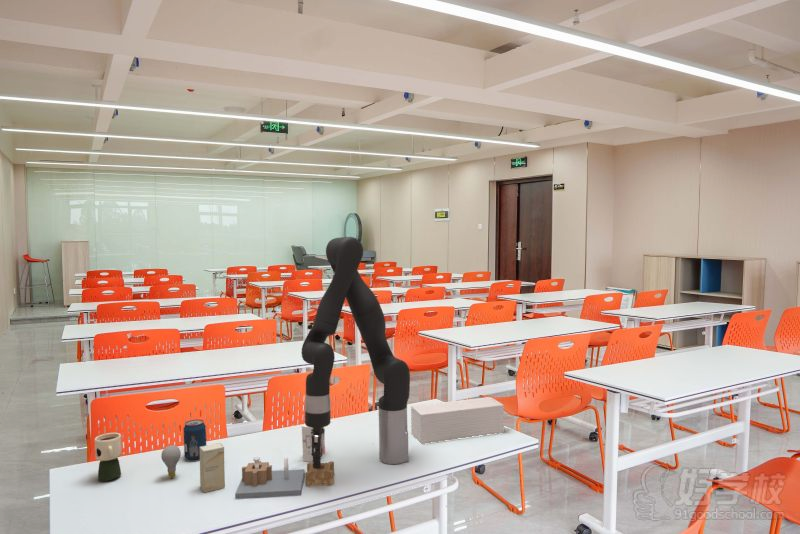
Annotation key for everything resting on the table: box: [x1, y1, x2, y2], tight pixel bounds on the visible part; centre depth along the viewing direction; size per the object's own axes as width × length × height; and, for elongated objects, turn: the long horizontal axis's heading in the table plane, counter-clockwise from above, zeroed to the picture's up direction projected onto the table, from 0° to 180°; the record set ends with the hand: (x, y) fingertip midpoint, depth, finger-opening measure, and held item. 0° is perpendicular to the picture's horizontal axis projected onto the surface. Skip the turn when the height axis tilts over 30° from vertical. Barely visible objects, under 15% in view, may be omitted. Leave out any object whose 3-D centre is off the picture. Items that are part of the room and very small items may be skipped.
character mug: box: [94, 432, 123, 482], centre depth 169 cm, size 11×7×13 cm, turn 34°
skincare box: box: [199, 442, 226, 493], centre depth 162 cm, size 6×4×12 cm
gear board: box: [234, 456, 306, 500], centre depth 163 cm, size 18×14×8 cm
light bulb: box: [160, 444, 182, 479], centre depth 169 cm, size 6×5×10 cm
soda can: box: [183, 419, 207, 462], centre depth 184 cm, size 7×7×12 cm
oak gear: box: [304, 460, 335, 488], centre depth 166 cm, size 8×8×4 cm
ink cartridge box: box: [301, 423, 326, 463], centre depth 183 cm, size 9×5×15 cm, turn 168°
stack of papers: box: [410, 396, 505, 445], centre depth 203 cm, size 32×11×11 cm, turn 108°
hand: (317, 462), depth 166 cm, fingers open, 8 cm apart
